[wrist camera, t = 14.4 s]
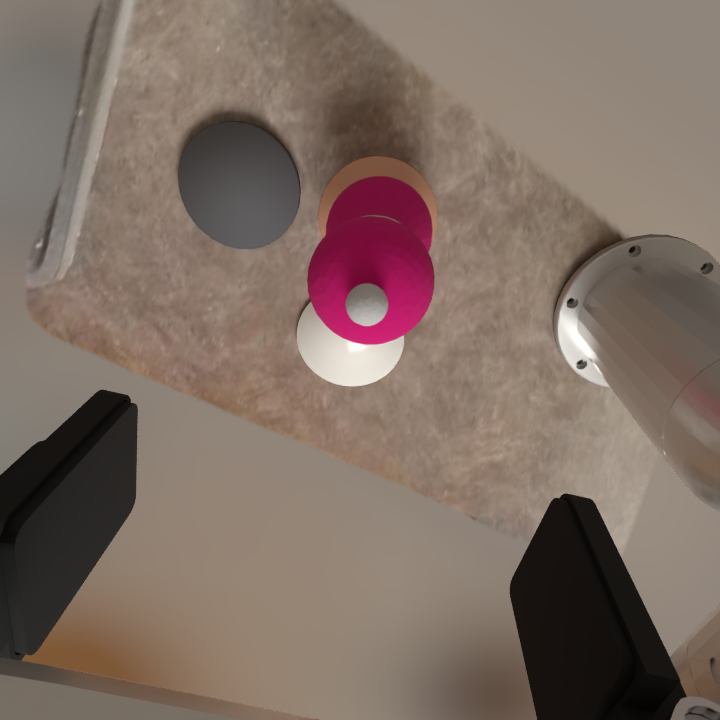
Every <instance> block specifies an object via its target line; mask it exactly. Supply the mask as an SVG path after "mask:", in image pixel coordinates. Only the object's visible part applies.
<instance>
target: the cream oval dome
mask: <svg viewBox="0 0 720 720" xmlns="http://www.w3.org/2000/svg"><path fill="white" fill-rule="evenodd" d="M297 343H298V347H299V351H300V353H301V355H302V357H303V359H304V361H305V362H306V364H307V365H308V366H309V367H310V368H311V369H312V370H313V371H314V372H315V373H316V374H317V375H319V376H320V377H322V378H323V379H325V380H327V381H330V382H332V383H335V384H338V385H344V386H361V385H366V384H370V383H373V382H375V381H377V380H379V379H381V378H383V377H384V376H385V375H387V374H388V373H389V372H390V371H391V370H392V369H393V368H394V366H395V365H396V364H397V362H398V360H399V358H400V356H401V354H402V350H403V346H404V335H403V336H401V337H399V338H398V339H396V340H393V341H390V342H386V343H383V344H377V345H364V344H359V343H354V342H351V341H349V340H346V339H343V338H342V337H340V336H338V335H337V334H335V333H333V332H332V331H331V330H330V329H329V328H328V327H327V326H326V325H325V324H324V323H323V322H322V320H321V319H320V318H319V317H318V315H317V314H316V312H315V310H314V307H313V305H312V303H311V302H310V303H309V304H308V305H307V306H306V308H305V310H304V311H303V313H302V315H301V317H300V320H299V323H298V327H297Z"/></svg>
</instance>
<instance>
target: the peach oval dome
mask: <svg viewBox="0 0 720 720" xmlns="http://www.w3.org/2000/svg"><path fill="white" fill-rule="evenodd" d="M373 176H386V177H392V178H395V179H398V180H401V181H403V182H405V183H407V184H408V185H410V186H411V187H412V188H414V189H415V190H416V191H417V192H418V193H419V194H420V195H421V197H422V198H423V200H424V201H425V203H426V205H427V207H428V209H429V212H430V215H431V219H432V228H433V232H432V241H433V238H434V236H435V232H436V228H437V219H438V217H437V206H436V201H435V198H434V195H433V193H432V190H431V188H430V186H429V185H428V183H427V182H426V180H425V179H424V178H423V177H422V175H421V174H420V173H419V172H418V171H416V170H415V169H414V168H413V167H411V166H410V165H408V164H406V163H404V162H402V161H400V160H397V159H394V158H390V157H385V156H373V157H366V158H362V159H359V160H356V161H354V162H352V163H350V164H348V165H346V166H345V167H343V168H342V169H341V170H340V171H338V172H337V174H336V175H335V176H334V177H333V178H332V179H331V180H330V182H329V183H328V185H327V187H326V188H325V190H324V193H323V195H322V198H321V201H320V205H319V213H318V221H319V229H320V233H321V237H322V239H323V238H324V237H325V236H326V223H327V219H328V215H329V212H330V209H331V207H332V205H333V203H334V201H335V200H336V198H337V197H338V196H339V195H340V194H341V192H342V191H343V190H344V189H346V188H347V187H348V186H349V185H351V184H353V183H355V182H356V181H358V180H361V179H364V178H368V177H373ZM432 241H431V243H432Z"/></svg>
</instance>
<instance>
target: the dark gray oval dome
mask: <svg viewBox="0 0 720 720" xmlns="http://www.w3.org/2000/svg"><path fill="white" fill-rule="evenodd" d="M178 179H179V189H180V194H181V198H182V201H183V203H184V206H185V208H186V210H187V212H188V214H189V215H190V217H191V218H192V220H193V221H194V222H195V224H196V225H197V226H198V227H199V228H200V229H201V230H202V231H203V232H204V233H205V234H207V235H208V236H209V237H211V238H212V239H214V240H215V241H217V242H219V243H221V244H224V245H226V246H229V247H233V248H238V249H255V248H259V247H263V246H266V245H268V244H270V243H272V242H274V241H275V240H277V239H278V238H279V237H281V236H282V235H283V234H284V233H285V232H286V230H287V229H288V228H289V226H290V225H291V224H292V222H293V220H294V218H295V216H296V213H297V211H298V207H299V203H300V194H301V192H300V180H299V175H298V172H297V168H296V166H295V164H294V161H293V159H292V158H291V156H290V154H289V153H288V151H287V150H286V149H285V147H284V146H283V145H282V144H281V143H280V142H279V141H278V140H277V139H276V138H275V137H274V136H273V135H271V134H270V133H268V132H267V131H265V130H264V129H262V128H260V127H258V126H255V125H252V124H249V123H244V122H224V123H219V124H216V125H212V126H210V127H208V128H206V129H204V130H203V131H201V132H200V133H198V134H197V135H196V136H195V137H194V138H193V139H192V140H191V141H190V143H189V144H188V145H187V147H186V149H185V151H184V153H183V155H182V158H181V161H180V166H179V174H178Z"/></svg>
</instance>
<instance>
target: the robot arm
mask: <svg viewBox="0 0 720 720" xmlns="http://www.w3.org/2000/svg"><path fill="white" fill-rule="evenodd" d="M632 246H633V249H632V251H629V249H630V248H631V247H632ZM702 265H703V266H702ZM570 298H572V300H571V301H570V302H567V301H568V300H569V299H570ZM553 329H554V335H555V341H556V344H557V346H558V348H559V351H560V353H561V355H562V356H563V358H564V359H565V361H566V362H567V364H568V365H569V366H570V367H571V368H572V370H573V371H574V372H575V373H577V374H578V375H580V376H581V377H583V378H584V379H585V380H587V381H589V382H592V383H594V384H596V385H599V386H603V387H607V388H611V389H612V390H613V391H614V393H615V394H616V395H617V397H618V398H619V399H620V401H621V402H622V403H623V405H624V406H625V407H626V409H627V410H628V411H629V413H630V414H631V415H632V417H633V418H634V419H635V421H636V422H637V423H638V425H639V426H640V427H641V429H642V430H643V431H644V432H645V434H646V435H647V436H648V438H649V439H650V440H651V442H652V443H653V444H654V446H655V447H656V448H657V450H658V451H659V452H660V454H661V455H662V456H663V458H664V459H665V460H666V462H667V463H668V464H669V466H670V467H671V468H672V469H673V470H674V472H675V473H676V474H677V476H678V477H679V478H680V480H681V481H682V482H683V483H684V485H685V486H686V487H687V488H688V489H689V490H690V491H691V492H692V493H693V494H694V495H695V496H696V497H697V498H698V499H699V500H701V501H702V502H703V503H704V504H706V505H707V506H709V507H710V508H712V509H714V510H716V511H717V512H719V513H720V265H719V263H718V262H717V261H716V260H715V259H714V258H713V257H712V256H711V255H710V254H709V253H708V252H707V251H705V250H704V249H702V248H701V247H699V246H697V245H696V244H694V243H691V242H689V241H687V240H685V239H682V238H677V237H673V236H669V235H651V234H650V235H644V236H637V237H631V238H628V239H625V240H622V241H619V242H616V243H614V244H612V245H610V246H608V247H606V248H604V249H602V250H600V251H599V252H598V253H596V254H595V255H593V256H592V257H591V258H589V259H588V260H586V261H585V262H584V263H583V264H582V265H581V266H580V267H579V268H578V269H577V270H576V271H575V272H574V274H573V275H572V276H571V278H570V279H569V281H568V282H567V283H566V285H565V286H564V288H563V290H562V293H561V295H560V297H559V299H558V302H557V305H556V309H555V313H554V327H553ZM580 360H581V361H580ZM578 361H579V362H578ZM137 414H138V410H137V405H136V404H134V403H131V399H130V397H129V396H128V395H124V394H120V393H115V392H111V391H107V390H99V391H98V392H97V393H95V394H94V395H93V396H92V397H91V398H90V399H89V400H88V401H87V402H86V403H85V404H84V405H83V406H81V408H79V409H78V410H77V411H76V412H75V413H74V414H73V415H72V416H71V417H70V418H69V419H68V420H66V421H65V422H64V423H63V424H62V425H61V426H60V427H59V428H58V429H57V430H56V431H54V432H53V433H52V434H51V435H50V436H49V437H48V438H47V439H46V440H44V441H40V442H38V443H36V444H35V445H33V446H32V447H31V448H30V449H29V450H28V451H26V452H25V453H24V454H23V455H22V456H21V457H20V458H19V459H18V460H17V461H16V462H14V463H13V464H12V465H11V466H10V467H9V468H8V469H7V470H6V471H5V472H4V473H2V474H1V475H0V720H318V719H313V718H308V717H303V716H298V715H293V714H288V713H284V712H279V711H274V710H269V709H264V708H260V707H255V706H250V705H245V704H240V703H236V702H231V701H226V700H221V699H216V698H211V697H206V696H201V695H196V694H191V693H186V692H181V691H176V690H171V689H166V688H161V687H156V686H151V685H146V684H141V683H137V682H132V681H127V680H122V679H117V678H112V677H107V676H102V675H97V674H91V673H85V672H80V671H75V670H69V669H64V668H58V667H53V666H48V665H42V664H36V663H31V662H25V661H21V660H22V658H23V657H24V655H25V654H27V655H32V654H34V653H35V652H36V651H37V650H38V649H39V648H40V646H41V645H42V643H43V642H44V640H45V639H46V638H47V636H48V634H49V633H50V631H51V630H52V629H53V627H54V626H55V624H56V623H57V621H58V620H59V618H60V617H61V615H62V614H63V612H64V610H65V609H66V608H67V606H68V605H69V603H70V602H71V600H72V599H73V597H74V596H75V594H76V593H77V591H78V590H79V589H80V587H81V586H82V584H83V583H84V581H85V580H86V578H87V577H88V575H89V573H90V572H91V571H92V569H93V568H94V566H95V565H96V563H97V562H98V560H99V559H100V557H101V556H102V554H103V553H104V551H105V550H106V548H107V547H108V545H109V544H110V542H111V541H112V540H113V538H114V537H115V535H116V534H117V532H118V531H119V529H120V528H121V526H122V525H123V523H124V522H125V520H126V519H127V517H128V516H129V514H130V513H131V511H132V508H133V506H134V503H135V499H136V463H137V416H138V415H137ZM510 598H511V602H512V606H513V611H514V616H515V620H516V625H517V629H518V634H519V638H520V642H521V647H522V652H523V657H524V661H525V665H526V670H527V675H528V679H529V684H530V688H531V692H532V697H533V702H534V706H535V711H536V716H537V720H720V604H719V605H718V606H717V607H716V608H715V609H714V610H713V611H712V612H711V613H710V614H709V615H708V616H707V617H706V618H705V619H704V620H703V621H702V622H701V623H700V624H699V625H698V626H697V627H696V628H695V629H694V630H693V632H692V633H691V634H690V635H689V636H688V637H687V638H686V639H685V640H684V641H683V642H682V643H681V644H680V645H679V647H678V648H677V649H676V650H675V651H674V652H673V654H672V655H671V656H670V657H669V655H668V653H667V651H666V649H665V647H664V645H663V643H662V641H661V639H660V637H659V634H658V632H657V630H656V628H655V626H654V624H653V622H652V620H651V618H650V616H649V614H648V612H647V610H646V608H645V606H644V604H643V601H642V599H641V597H640V595H639V593H638V591H637V589H636V587H635V585H634V583H633V581H632V579H631V577H630V575H629V573H628V571H627V569H626V566H625V565H624V562H623V560H622V558H621V556H620V554H619V552H618V550H617V548H616V546H615V544H614V542H613V540H612V538H611V536H610V534H609V531H608V529H607V527H606V525H605V523H604V521H603V519H602V517H601V515H600V513H599V511H598V509H597V507H596V505H595V503H594V502H593V500H591V499H589V498H584V497H580V496H575V495H571V494H563V495H562V496H561V497H560V498H554V499H553V500H552V501H551V503H550V505H549V507H548V509H547V511H546V513H545V515H544V517H543V519H542V521H541V523H540V524H539V526H538V528H537V530H536V532H535V534H534V536H533V538H532V540H531V542H530V544H529V546H528V548H527V550H526V552H525V554H524V556H523V558H522V560H521V562H520V564H519V566H518V568H517V570H516V572H515V574H514V576H513V578H512V580H511V584H510Z"/></svg>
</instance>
